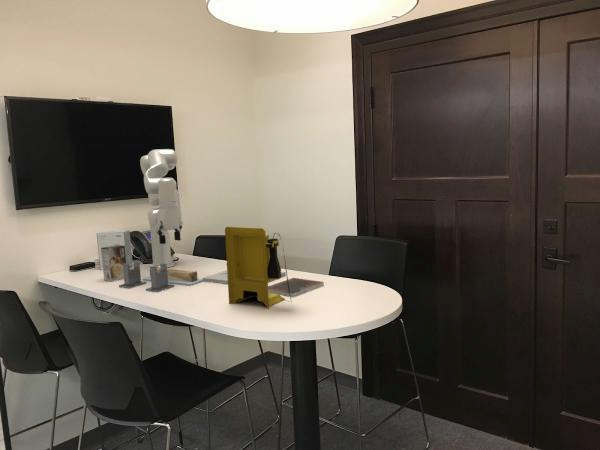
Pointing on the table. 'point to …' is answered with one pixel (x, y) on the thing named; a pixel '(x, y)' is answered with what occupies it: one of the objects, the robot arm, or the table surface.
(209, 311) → the table surface
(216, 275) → the award plaque
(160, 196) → the robot arm
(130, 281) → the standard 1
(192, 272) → the rail
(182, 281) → the pad
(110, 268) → the coffee box
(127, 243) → the hard drive box
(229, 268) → the vintage telephone
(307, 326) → the table surface
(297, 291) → the picture frame
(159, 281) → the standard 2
